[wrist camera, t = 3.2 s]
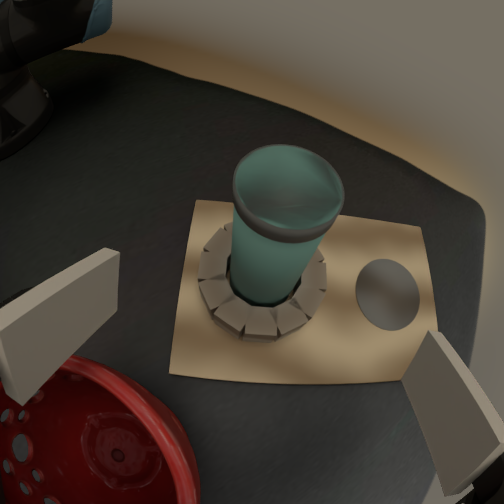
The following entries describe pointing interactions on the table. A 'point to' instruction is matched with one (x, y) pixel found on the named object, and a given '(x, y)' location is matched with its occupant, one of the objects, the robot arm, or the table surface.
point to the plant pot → (96, 442)
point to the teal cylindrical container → (279, 219)
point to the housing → (306, 308)
